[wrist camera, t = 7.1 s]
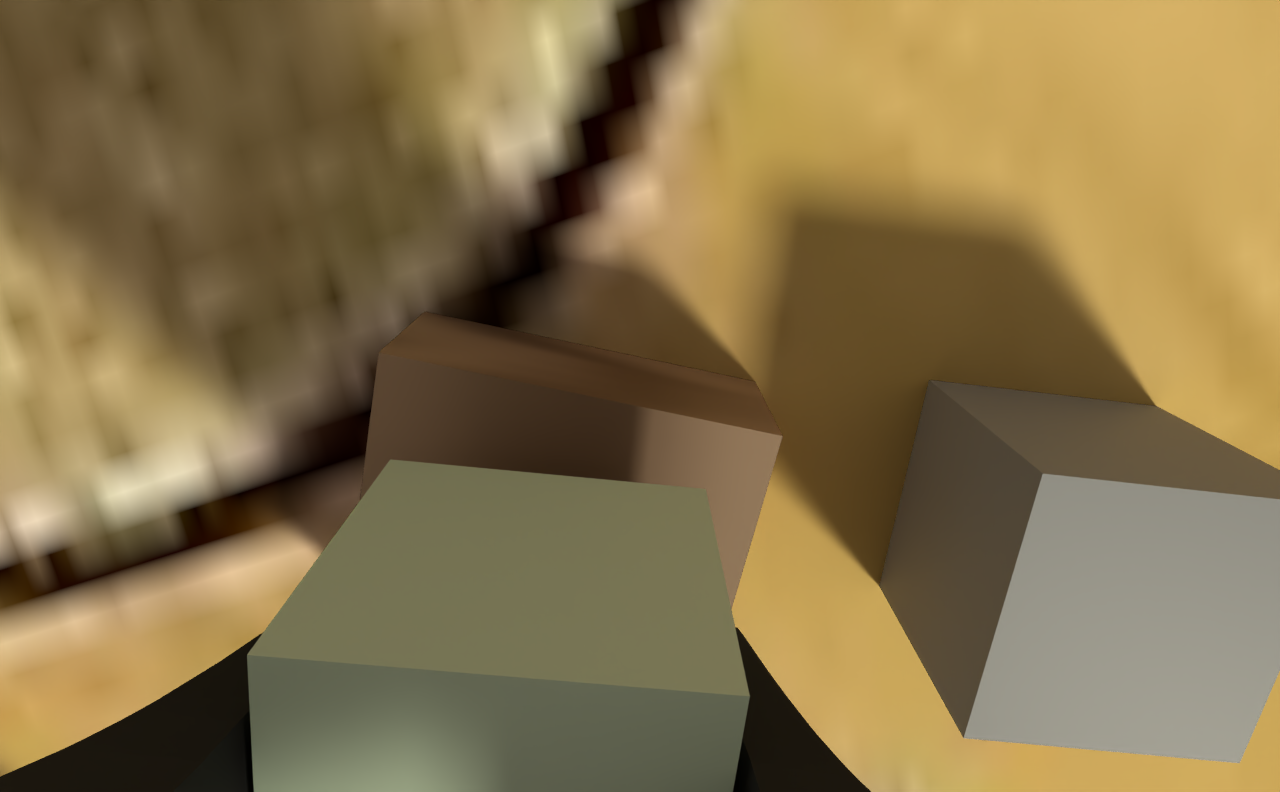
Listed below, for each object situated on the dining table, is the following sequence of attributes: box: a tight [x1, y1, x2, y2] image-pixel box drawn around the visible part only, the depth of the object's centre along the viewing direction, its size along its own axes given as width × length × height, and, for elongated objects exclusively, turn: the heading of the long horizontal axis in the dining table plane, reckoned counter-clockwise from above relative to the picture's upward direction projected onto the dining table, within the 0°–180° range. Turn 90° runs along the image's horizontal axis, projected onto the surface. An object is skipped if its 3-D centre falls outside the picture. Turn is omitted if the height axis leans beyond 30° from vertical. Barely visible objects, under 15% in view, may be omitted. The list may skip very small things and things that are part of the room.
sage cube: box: [247, 459, 750, 792], centre depth 11 cm, size 5×5×5 cm
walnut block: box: [360, 312, 783, 609], centre depth 16 cm, size 7×7×4 cm
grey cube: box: [879, 380, 1280, 763], centre depth 16 cm, size 5×5×5 cm
